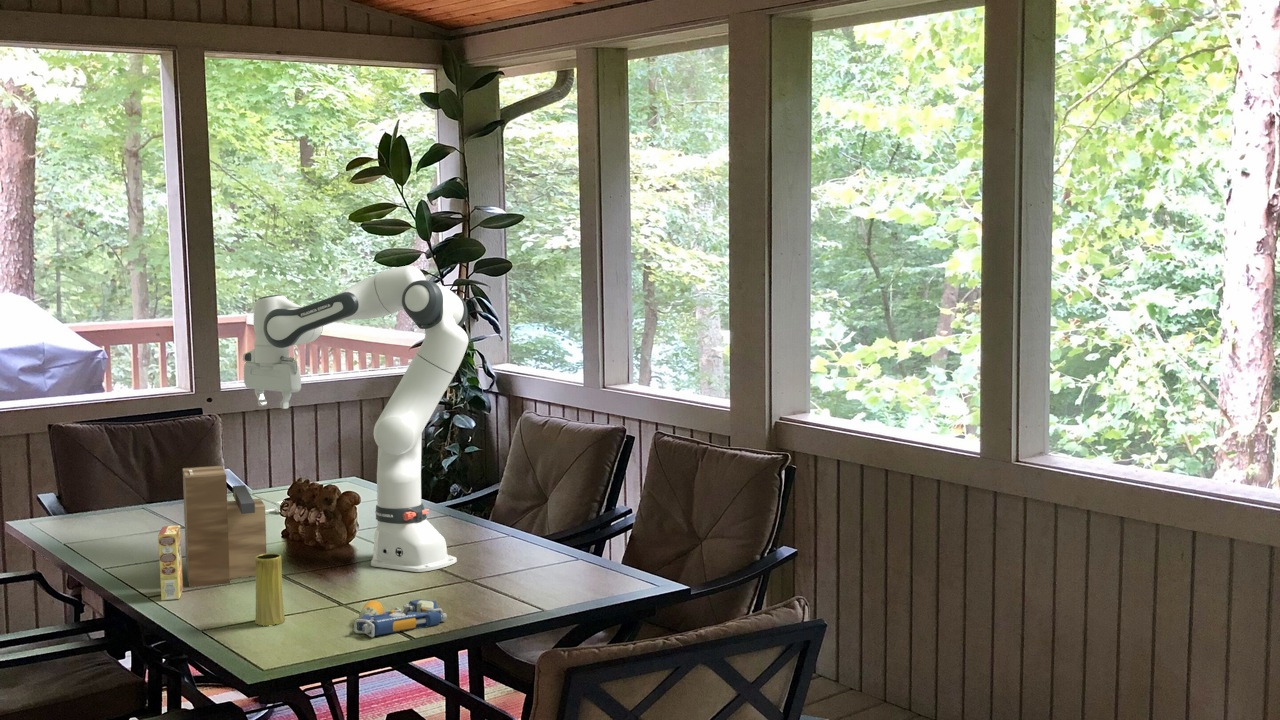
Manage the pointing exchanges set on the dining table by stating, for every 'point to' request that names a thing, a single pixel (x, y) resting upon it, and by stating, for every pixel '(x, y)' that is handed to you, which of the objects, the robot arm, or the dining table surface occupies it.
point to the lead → (243, 499)
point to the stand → (219, 530)
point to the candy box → (170, 562)
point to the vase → (269, 589)
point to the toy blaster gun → (398, 617)
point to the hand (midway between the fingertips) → (273, 407)
